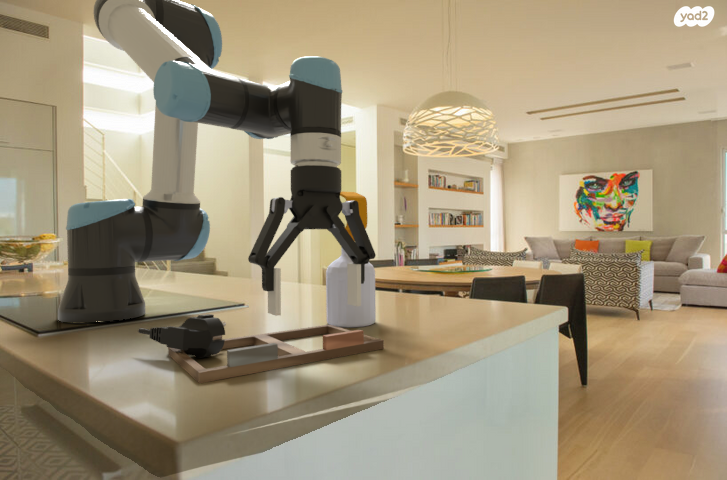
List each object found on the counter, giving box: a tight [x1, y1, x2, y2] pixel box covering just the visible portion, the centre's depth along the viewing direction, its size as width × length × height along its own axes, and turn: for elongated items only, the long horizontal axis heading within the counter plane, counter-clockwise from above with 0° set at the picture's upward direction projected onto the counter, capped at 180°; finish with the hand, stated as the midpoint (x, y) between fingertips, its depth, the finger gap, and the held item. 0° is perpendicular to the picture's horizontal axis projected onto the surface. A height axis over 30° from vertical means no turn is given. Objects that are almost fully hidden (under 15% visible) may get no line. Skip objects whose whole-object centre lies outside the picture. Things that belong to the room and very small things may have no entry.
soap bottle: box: [325, 191, 377, 329], centre depth 86 cm, size 9×9×25 cm
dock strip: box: [167, 324, 385, 384], centre depth 66 cm, size 15×26×3 cm, turn 125°
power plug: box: [137, 313, 227, 359], centre depth 65 cm, size 6×8×12 cm
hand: (316, 309), depth 70 cm, fingers open, 13 cm apart
